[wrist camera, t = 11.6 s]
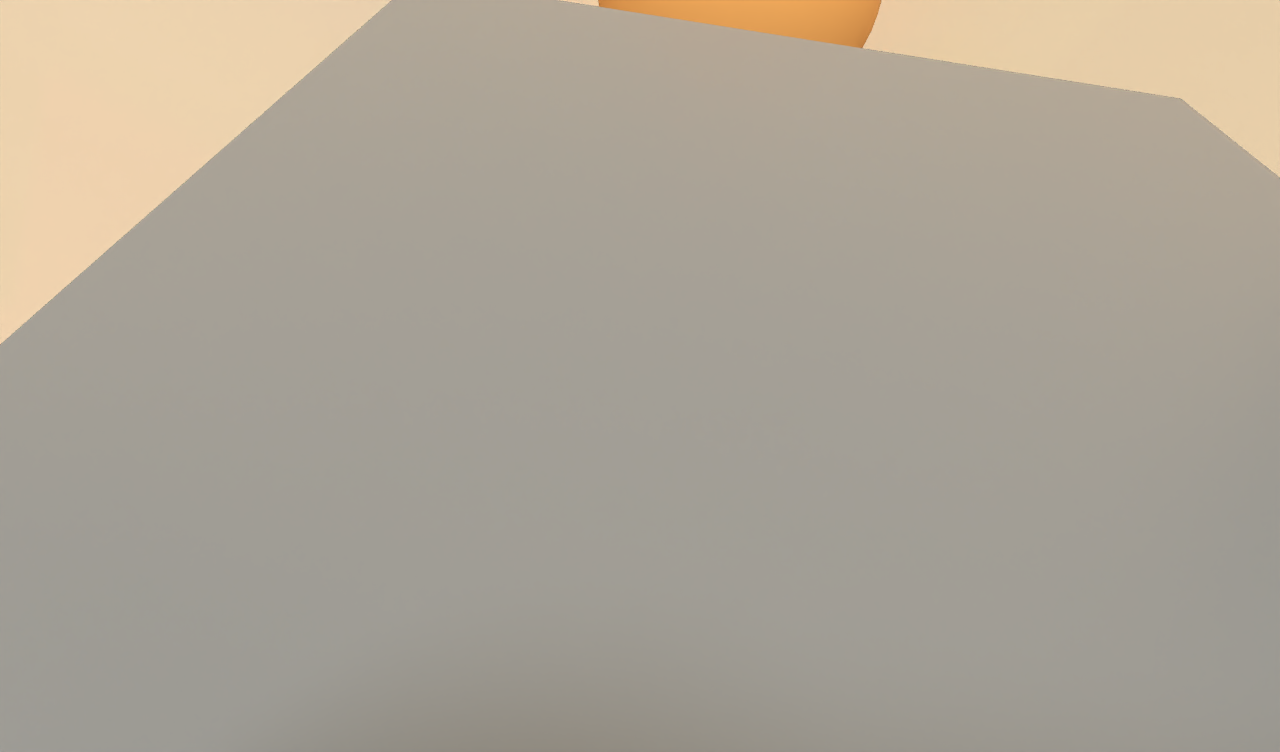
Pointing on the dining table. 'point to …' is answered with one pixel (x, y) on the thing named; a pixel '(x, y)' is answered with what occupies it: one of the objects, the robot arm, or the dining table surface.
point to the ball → (770, 16)
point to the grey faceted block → (658, 414)
